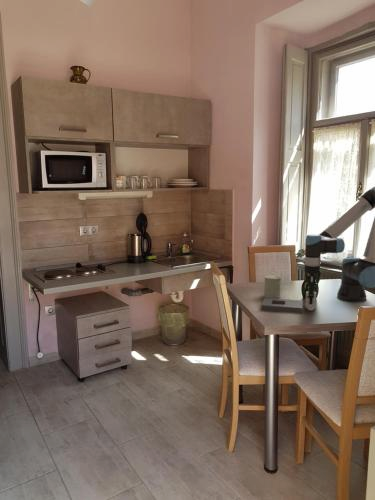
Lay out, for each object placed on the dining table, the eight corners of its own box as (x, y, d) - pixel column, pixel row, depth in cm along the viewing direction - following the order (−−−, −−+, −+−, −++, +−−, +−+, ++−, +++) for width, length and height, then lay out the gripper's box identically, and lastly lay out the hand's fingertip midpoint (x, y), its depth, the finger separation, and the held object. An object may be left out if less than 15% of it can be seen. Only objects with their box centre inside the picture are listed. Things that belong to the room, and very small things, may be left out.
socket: (302, 305, 210) (302, 300, 210) (302, 313, 197) (302, 308, 197) (264, 302, 216) (264, 297, 216) (261, 309, 203) (261, 305, 203)
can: (280, 299, 222) (281, 278, 220) (263, 298, 224) (264, 277, 222) (280, 294, 231) (280, 274, 229) (264, 294, 233) (264, 274, 231)
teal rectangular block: (315, 306, 208) (316, 291, 206) (315, 309, 204) (316, 293, 203) (305, 306, 209) (306, 291, 208) (305, 308, 205) (306, 293, 204)
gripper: (304, 260, 215) (303, 300, 218) (304, 268, 193) (302, 312, 197) (319, 261, 212) (317, 301, 216) (320, 269, 191) (318, 314, 195)
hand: (310, 307), depth 206 cm, fingers open, 10 cm apart
